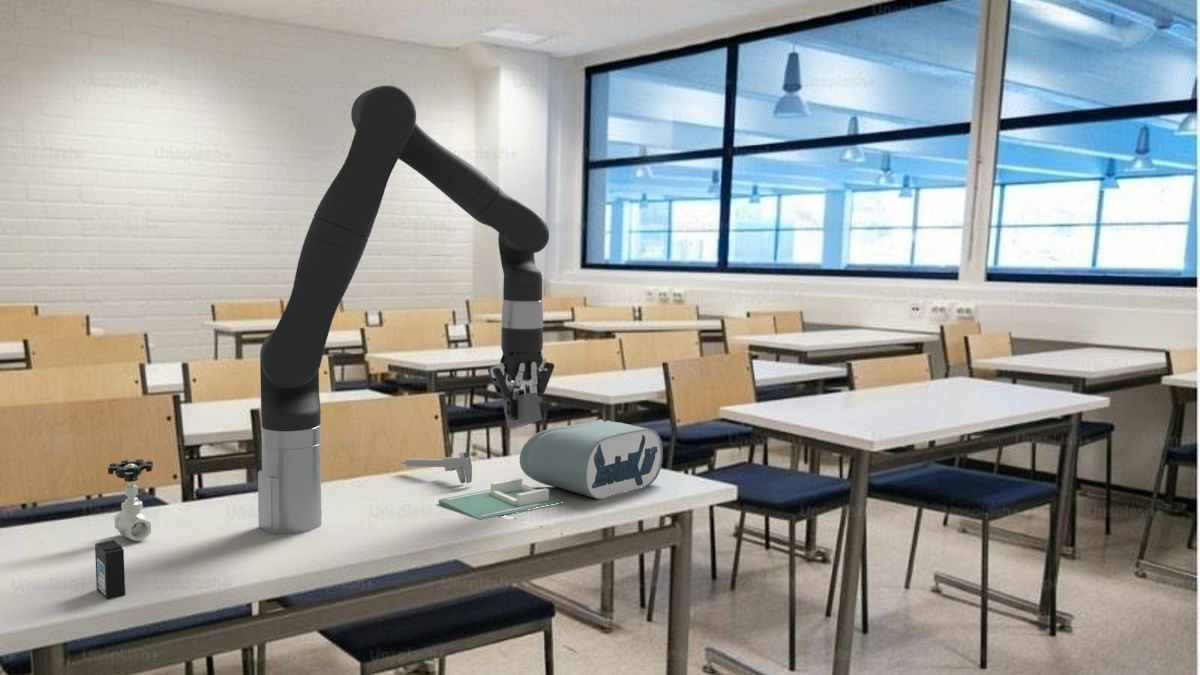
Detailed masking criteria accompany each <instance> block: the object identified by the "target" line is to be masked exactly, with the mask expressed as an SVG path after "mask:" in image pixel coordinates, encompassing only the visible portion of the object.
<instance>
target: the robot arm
mask: <svg viewBox="0 0 1200 675" xmlns="http://www.w3.org/2000/svg"><path fill="white" fill-rule="evenodd" d="M351 107H352V108H351V112H350V113H351V114H350V116H351V121H352V125H353V127H354V129H355V132H354V134H353V138H352V140H351V145H350V147H349V151H348V153H347V155H346V158H345V160H344V163H343V164H342V166H341V168H340V170H339V171H338V173H337V175H336V176H335V178H334V179H333V181H332V182H331V183H330V185H329V187H328V189H327V190H326V192H325V193H324V195H323V196H322V198H321V200H320V202H319V204H318V206H317V208H316V210H315V212H314V214H313V217H312V220H311V222H310V225H309V227H308V230H307V233H306V235H305V237H304V241H303V243H302V247H301V250H300V254H299V258H298V261H297V266H296V272H295V276H294V281H293V286H292V289H291V292H290V293H291V294H290V297H289V300H288V302H287V304H286V307H285V309H284V311H283V313H282V314H281V316H280V319H279V321H278V323H277V325H276V327H275V329H274V330H273V331H272V332H270V333H269V334H268V335H267V336H266V338H265V339H264V340H263V342H262V344H261V348H260V353H259V354H260V355H259V364H260V369H259V371H260V373H259V374H260V375H259V376H260V418H261V466H262V467H261V469H260V470H258V472H257V495H258V496H257V500H258V503H257V504H258V507H257V508H258V527H259V528H260V529H261V530H263V531H265V533H266V534H268V533H269V534H268V535H270V536H277V534H278V535H293V534H294V535H295V534H301V533H306V532H310V531H313V530H316V529H318V528H320V527H321V526H322V515H323V514H322V512H323V511H322V459H321V458H322V454H321V453H322V450H321V449H322V447H321V446H322V442H321V439H322V438H321V421H322V420H321V415H322V414H321V413H322V412H321V411H322V410H321V400H320V398H321V397H320V368H321V364H322V359H323V356H324V353H325V348H326V343H327V341H328V337H329V333H330V330H331V326H332V323H333V320H334V316H335V314H336V313H337V312H336V311H337V310H338V307H339V306H340V303H341V301H342V299H343V297H344V295H345V294H346V291H347V290H348V288H349V285H350V283H351V281H352V279H353V277H354V275H355V272H356V271H357V268H358V266H359V263H360V262H361V259H362V256H363V254H364V251H365V249H366V246H367V244H368V241H369V238H370V236H371V233H372V229H373V228H374V224H375V221H376V219H377V217H378V213H379V209H380V207H381V204H382V200H383V198H384V195H385V190H386V188H387V185H388V181H389V179H390V177H391V174H392V172H393V170H394V168H395V166H396V164H397V161H398V160H400V161H401V162H403V163H404V164H406V165H407V166H408V167H410V168H412V170H415V171H416V172H417V173H419V175H421V176H422V177H423V178H425V179H426V180H427V181H429V182H430V183H431V184H432V185H433V186H434V187H436V188H437V189H438V190H439V191H440V192H442V193H443V194H444V195H445V196H446V197H448V198H449V199H450V200H451V201H452V202H454V203H455V205H457V206H458V207H460V208H461V209H462V210H463V211H465V212H466V213H467V214H468V215H469V216H471V217H472V218H473V219H474V220H476V221H477V222H479V223H480V224H482V225H485V226H488V227H490V228H492V229H494V230H495V231H496V232H497V233H498V237H497V238H498V239H497V240H498V251H499V255H500V256H499V259H500V262H501V267H502V273H503V282H502V283H503V284H502V285H503V289H502V290H503V292H502V293H503V296H502V297H503V298H502V299H503V300H502V307H501V330H500V331H501V333H500V334H501V343H500V344H501V345H500V348H501V351H502V356H501V358H500V362H499V363H498V364H496V365H495V366H489V367H488V368H487V372H488V375H489V378H490V380H491V382H492V384H493V387H494V389H495V392H496V395H497V396H499V397H501V398H502V397H503V398H505V401H507V416H508V417H509V419H511V420H517V419H518V400H517V399H518V396H520V395H519V394H520V388H522V385H523V391H524V393H523V394H529V393H537V396H538V395H541V394H544V393H545V392H546V390H547V387H548V384H549V382H550V379H551V376H552V374H553V371H554V368H555V364H554V363H552V362H549V361H546V360H544V359H543V355H542V352H541V351H542V350H543V349H544V348H543V346H544V345H543V344H544V343H543V342H544V308H543V275H542V272H541V270H540V269H539V268H538V267H537V266H536V262H535V261H536V259H535V254H536V253H539V252H541V251H543V249H545V247H546V246H547V245H548V244H549V243H548V242H549V238H550V232H549V228H548V225H547V223H546V222H545V220H543V218H542V217H541V216H540V215H539V214H538V213H537V212H535V211H534V210H532V209H531V208H530V207H527V206H526V205H525V204H523V203H522V202H520V201H519V200H517V199H515V198H514V197H512V196H510V195H509V194H508V193H506V192H505V191H504V190H503V189H502V188H501V187H499V185H497V184H496V183H495V182H494V181H493V180H491V179H490V178H489V177H488V176H487V175H485V173H483V172H482V171H481V170H479V169H478V168H477V167H476V166H474V165H472V164H471V163H470V162H468V161H467V160H466V159H464V158H462V157H460V156H459V155H457V154H455V153H454V152H452V151H451V150H449V149H448V148H446V147H444V146H443V145H442V144H440V143H439V142H438V141H436V140H435V139H434V138H432V137H431V136H430V135H429V134H427V132H425V131H424V130H423V129H422V128H421V127H420V126H419V125H418V123H417V111H416V110H417V109H416V106H415V103H414V100H413V98H412V97H411V95H409V94H408V92H407V91H406V90H404V89H402V88H400V87H398V86H394V85H379V86H376V87H373V88H370V89H369V90H366V91H364V92H362V93H361V94H359V96H358V97H356V99H355V100H354V102H353V104H352V106H351ZM505 374H506V376H505ZM504 376H505V377H504Z"/></svg>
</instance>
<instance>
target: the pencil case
mask: <svg viewBox="0 0 1200 675" xmlns="http://www.w3.org/2000/svg"><path fill="white" fill-rule="evenodd" d="M663 451H664V450H663V442H662V438H661V437H660V435H659V433H658V432H657V431H655V430H653V429H652V428H651V429H650V428H647V427H646V428H645V427H642V426H638V425H633V424H629V423H624V422H618V421H611V420H606V421H605V420H603V419H601V418H600V419H598V420H595V421H591V422H586V423H581V424H573V425H565V426H558V427H553V428H547V429H544V430H540V431H539V432H537V433H535V434H534V435H532V436H531V437H530V438H528V440H527V441H526V442H525V443H524V444H523V447H522V449H521V451H520V454H519V465H520V466H519V467H520V468H521V470H522V472H523V473H524V474H525V475H526V476H527V477H528V478H530V479H532V480H533V481H534V482H538V483H539V484H543V485H546V486H548V487H549V486H550V487H553V488H557V487H559V488H558V489H561V490H562V489H563V490H566V491H569V492H573V493H576V494H579V495H583V496H586V497H589V498H592V499H597V500H604V499H605V498H608V497H607V496H609V497H612V496H611V495H613V496H616V495H615V494H617V495H619V494H618V493H620V494H623V493H622V492H624V493H626V492H625V491H628V492H630V491H629V490H632V491H634V490H633V489H636V490H639V489H638V488H641V487H642V489H645V487H646V488H648V487H649V486H651V484H653V483H654V482H655V480H656V479H657V478H658V476H659V474H660V471H661V469H662V464H663V455H664V454H663V453H664V452H663ZM604 497H605V498H604ZM603 498H604V499H603Z"/></svg>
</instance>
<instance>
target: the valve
mask: <svg viewBox="0 0 1200 675" xmlns="http://www.w3.org/2000/svg"><path fill="white" fill-rule="evenodd" d="M153 468H154V461H153V460H147V461H144V459H142V458H140V459H136V460H134V461H130V460H129V459H123V460H121V461H120V463H117V462H111V463H109V466H108V467H107V474H109V475H114V473H115V475H116V477H117V478H119V479H123V480H124V482H125V483H127V485H126V486H125V487H124V495H125V497H127V498H125V499H124V500H125V501H123V502H122V503H121V504H120V505H121V506H120V507H121V511H120V512H119V513H117V514H116V515H115V516H114V529H116V530H117V531H118V532H119V534H120V535H121V536H122V537H124V538H127V539H130V540H133V541H137V542H142V541H143V540H145V539H146V538H147V537H149V536H150V535H151V533H152V522H151V521H150V520H149V519H147V517H146V516H145V515H144V514H143V513H142V512H141V510H142V509H143V507H144V506H143V501H142V500H139V498H138V495H139V486H138V485H137V484H136V482H137V481H138V480H139V476H140V475H141V474H142V472H143V471H144V470H145V472H148V473H149V472H152V471H153Z"/></svg>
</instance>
